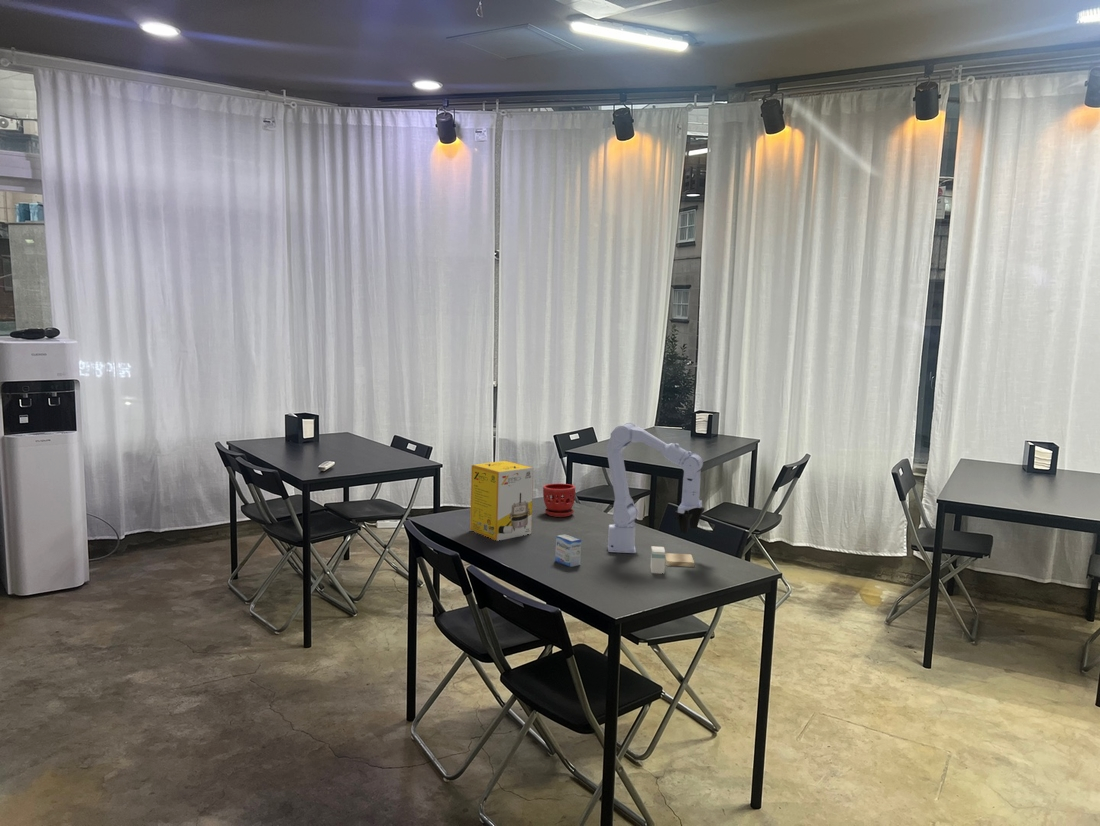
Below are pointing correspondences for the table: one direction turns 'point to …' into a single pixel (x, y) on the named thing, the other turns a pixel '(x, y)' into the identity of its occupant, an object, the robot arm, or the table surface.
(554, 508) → the plant pot
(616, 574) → the table surface
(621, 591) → the table surface
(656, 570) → the carton block
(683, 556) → the oak block
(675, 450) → the robot arm
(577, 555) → the medicine box
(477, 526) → the packaging box
